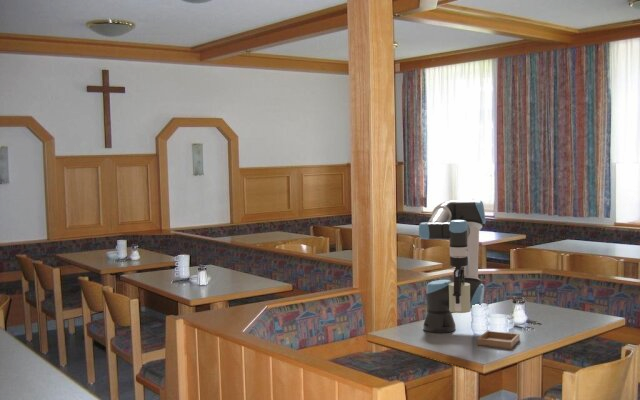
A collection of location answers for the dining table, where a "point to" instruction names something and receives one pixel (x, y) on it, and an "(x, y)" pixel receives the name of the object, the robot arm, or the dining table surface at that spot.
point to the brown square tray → (498, 339)
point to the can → (464, 298)
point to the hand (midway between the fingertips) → (459, 308)
